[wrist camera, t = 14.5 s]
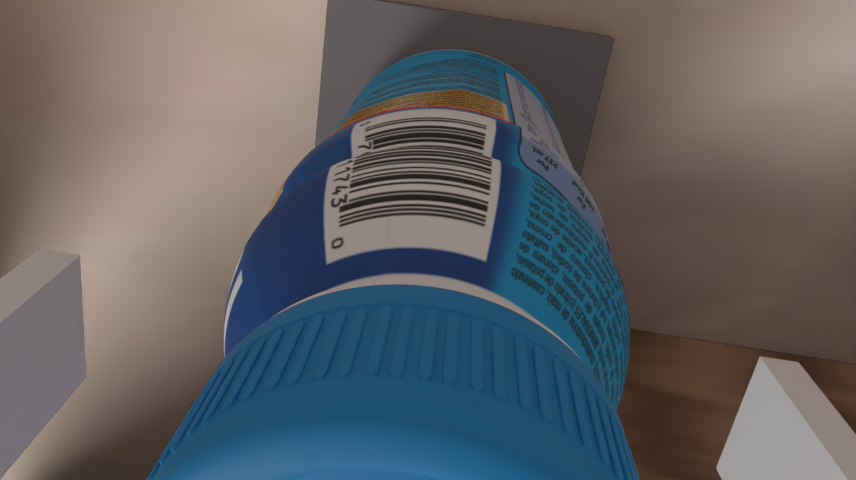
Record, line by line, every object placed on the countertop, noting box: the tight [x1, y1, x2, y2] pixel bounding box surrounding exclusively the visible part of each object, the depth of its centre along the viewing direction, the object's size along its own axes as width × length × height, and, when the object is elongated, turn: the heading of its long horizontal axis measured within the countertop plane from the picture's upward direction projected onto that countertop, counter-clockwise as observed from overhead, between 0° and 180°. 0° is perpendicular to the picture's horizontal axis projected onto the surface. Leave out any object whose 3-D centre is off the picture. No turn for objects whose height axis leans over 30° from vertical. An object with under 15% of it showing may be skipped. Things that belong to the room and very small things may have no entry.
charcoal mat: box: [315, 0, 614, 177], centre depth 27 cm, size 10×10×1 cm
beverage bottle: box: [147, 50, 640, 480], centre depth 18 cm, size 8×8×20 cm
